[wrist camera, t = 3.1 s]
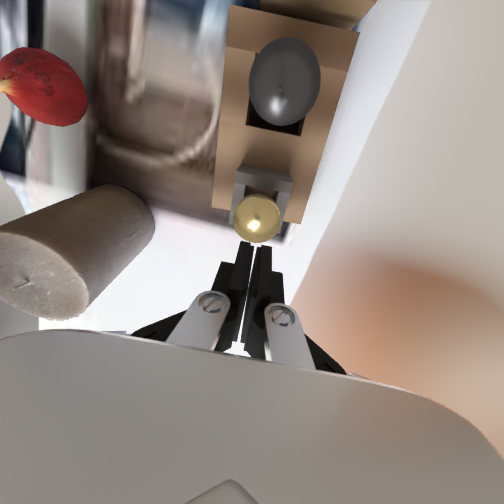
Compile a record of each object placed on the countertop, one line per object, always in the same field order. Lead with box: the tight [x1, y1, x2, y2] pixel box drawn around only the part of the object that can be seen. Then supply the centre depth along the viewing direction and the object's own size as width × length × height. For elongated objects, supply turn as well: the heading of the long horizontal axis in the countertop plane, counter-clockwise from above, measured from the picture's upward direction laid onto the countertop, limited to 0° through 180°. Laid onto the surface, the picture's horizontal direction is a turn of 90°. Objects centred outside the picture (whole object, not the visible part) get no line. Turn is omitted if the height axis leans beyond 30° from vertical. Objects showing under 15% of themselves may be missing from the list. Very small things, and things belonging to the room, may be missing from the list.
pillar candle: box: [0, 184, 154, 321], centre depth 25 cm, size 10×10×15 cm
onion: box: [0, 47, 88, 127], centre depth 21 cm, size 6×6×8 cm
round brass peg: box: [233, 193, 280, 243], centre depth 19 cm, size 4×4×4 cm
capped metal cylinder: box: [249, 37, 321, 126], centre depth 18 cm, size 4×4×12 cm
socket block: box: [212, 4, 360, 234], centre depth 21 cm, size 16×10×8 cm, turn 170°
